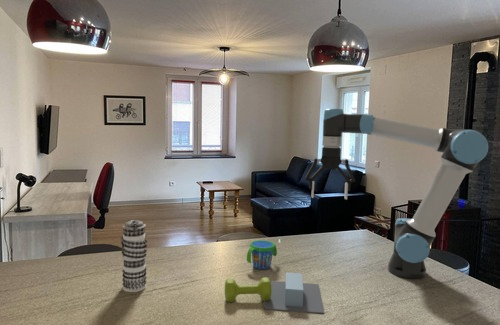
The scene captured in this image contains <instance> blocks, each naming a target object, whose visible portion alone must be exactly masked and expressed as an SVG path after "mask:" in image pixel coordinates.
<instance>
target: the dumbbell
mask: <svg viewBox="0 0 500 325" xmlns="http://www.w3.org/2000/svg"><path fill="white" fill-rule="evenodd" d="M270 281H271V279H270V277H266V276H265V277H262V278H261V279H260V280H259V282H258V283H257V284H244V285H243V284H242V285H240V284H238V283H237V282H236V280H235V279H234V278H226V280H225V281H224V297H225V300H226V302H227V303H232V302H235V300H236V299H237V297H238V296H240V295H255V294H256V295H258V296H259V297H260V299H261V300H262V301H264V302H265V301H268V300H270V298H271V293H272V288H271V282H270Z"/></svg>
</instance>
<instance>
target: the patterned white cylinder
mask: <svg viewBox="0 0 500 325" xmlns="http://www.w3.org/2000/svg"><path fill="white" fill-rule="evenodd" d="M146 226H147V225H146V223H144V222H143V221H142V220H139V219H131V220H128V221H126V223H124V225H122V230H123V231H122V232H123V234H122V235H121V237H120V240H121V241H120V244H121V255H122V260H123V264H122V267H123V268H122V275H121V276H122V277H123V278H122V280H121V281H122V290H123V291H125V292H127V293H136V292H141V291H143V290H145V289H146V288H147V267H146V257H147V251H148V250H147V249H146V248H147V246H148V245H147V243H148V240H146V239H145V238H147V234H146V232H145V231H146V230H145V227H146Z"/></svg>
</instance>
